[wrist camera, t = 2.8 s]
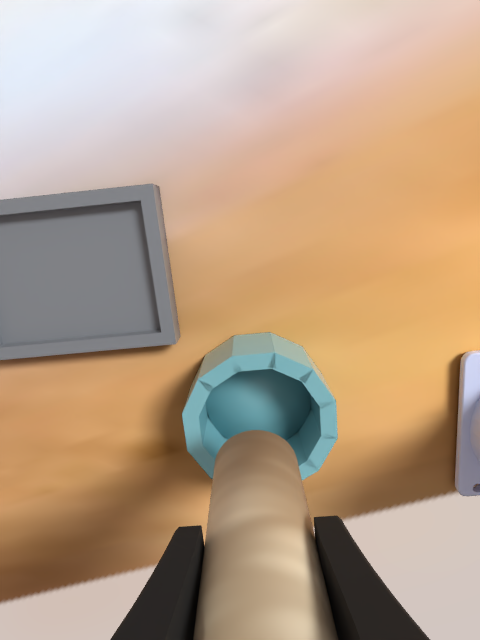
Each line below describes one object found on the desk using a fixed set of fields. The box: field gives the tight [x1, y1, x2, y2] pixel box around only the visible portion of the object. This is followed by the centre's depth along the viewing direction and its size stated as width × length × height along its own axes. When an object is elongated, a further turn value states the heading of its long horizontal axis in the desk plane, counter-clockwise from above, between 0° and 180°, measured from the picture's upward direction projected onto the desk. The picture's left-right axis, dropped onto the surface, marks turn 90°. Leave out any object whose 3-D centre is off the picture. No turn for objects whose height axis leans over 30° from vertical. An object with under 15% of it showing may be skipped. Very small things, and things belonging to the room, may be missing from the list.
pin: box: [193, 430, 338, 640], centre depth 10 cm, size 3×3×8 cm
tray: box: [0, 184, 180, 360], centre depth 17 cm, size 9×7×1 cm
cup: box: [182, 332, 337, 480], centre depth 18 cm, size 7×7×3 cm
